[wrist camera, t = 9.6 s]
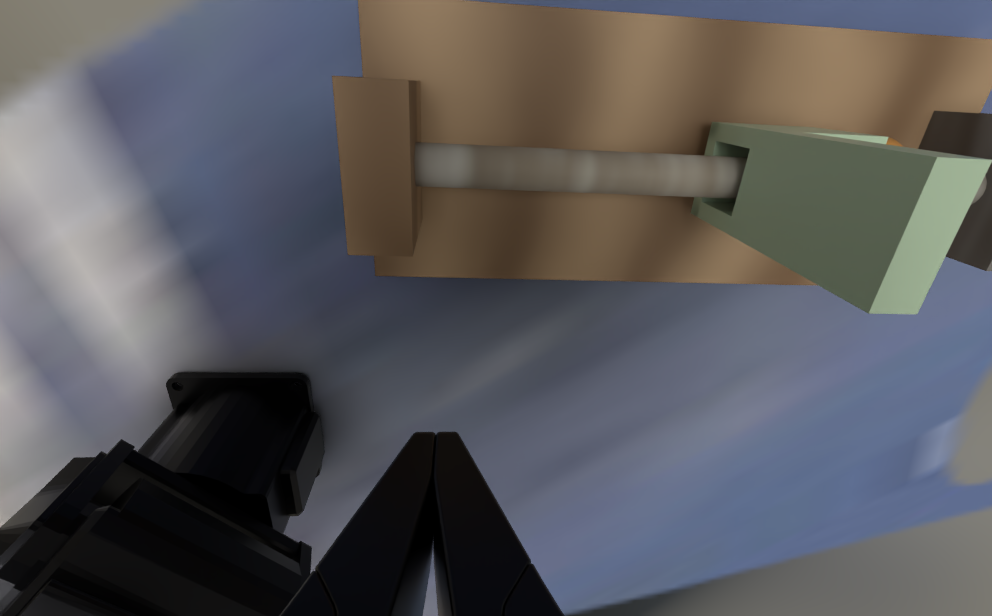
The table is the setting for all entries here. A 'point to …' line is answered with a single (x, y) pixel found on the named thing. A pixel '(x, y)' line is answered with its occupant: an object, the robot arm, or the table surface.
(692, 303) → the table surface
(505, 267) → the linear slide rail
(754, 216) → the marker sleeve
